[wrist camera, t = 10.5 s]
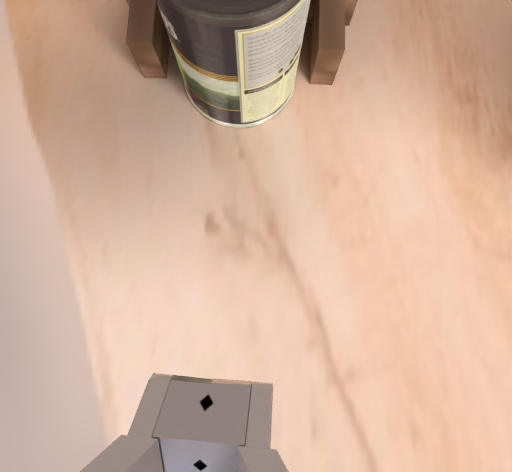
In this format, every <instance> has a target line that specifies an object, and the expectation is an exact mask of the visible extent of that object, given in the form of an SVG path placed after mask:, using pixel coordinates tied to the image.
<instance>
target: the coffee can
mask: <svg viewBox="0 0 512 472" xmlns="http://www.w3.org/2000/svg"><path fill="white" fill-rule="evenodd" d="M157 2H158V6H159V9H160V12H161V15H162V18H163V21H164V24H165V27H166V30H167V32H168V35H169V38H170V41H171V44H172V47H173V50H174V53H175V56H176V59H177V62H178V65H179V69H180V71H181V75H182V77H183V81H184V86H185V89H186V92H187V95H188V97H189V99H190V101H191V102H192V104H193V105H194V107H195V108H196V109H197V110H198V111H199V112H200V113H201V114H202V115H203V116H204V117H206V118H208V119H209V120H211V121H213V122H215V123H217V124H220V125H223V126H227V127H232V128H248V127H252V126H256V125H260V124H262V123H265V122H267V121H268V120H270V119H272V118H273V117H275V116H276V115H277V114H278V113H279V112H281V111H282V110H283V109H284V107H285V106H286V104H287V103H288V101H289V100H290V98H291V96H292V93H293V91H294V87H295V82H296V72H297V67H298V62H299V56H300V51H301V46H302V42H303V36H304V31H305V26H306V21H307V15H308V10H309V5H310V0H157Z"/></svg>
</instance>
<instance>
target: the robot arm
mask: <svg viewBox="0 0 512 472" xmlns="http://www.w3.org/2000/svg"><path fill="white" fill-rule="evenodd" d="M272 401H273V383H260V382H252V381H241V380H226V379H204V378H195V377H186V376H177V375H167V374H156V373H153V375H152V376H151V377H150V379H149V381H148V384H147V386H146V389H145V391H144V394H143V396H142V399H141V402H140V404H139V407H138V409H137V412H136V415H135V417H134V420H133V422H132V425H131V428H130V430H129V433H128V435H121V436H120V437H119V438H117V439H116V440H115V441H114V442H113V443H112V444H111V445H110V446H108V447H107V448H106V449H105V450H104V451H103V452H102V453H100V454H99V455H98V456H97V457H96V458H95V459H94V460H93V461H92V462H90V463H89V464H88V465H87V466H86V467H85V468H84V469H82V470H81V471H80V472H289V471H288V470H287V468H286V466H285V464H284V462H283V461H282V459H281V457H280V455H279V453H278V451H277V450H275V449H270V442H271V421H272Z"/></svg>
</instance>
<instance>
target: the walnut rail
mask: <svg viewBox="0 0 512 472" xmlns="http://www.w3.org/2000/svg"><path fill="white" fill-rule="evenodd" d="M127 3H128V5H129V7H130V9H129V19H128V29H127V39H126V42H127V44H128V46H129V48H130V50H131V52H132V54H133V56H134V58H135V60H136V62H137V64H138V66H139V68H140V70H141V72H142V74H143V76H144V77H147V78H167V65H168V53H169V41H170V38H169V35H168V32H167V30H166V27H165V24H164V21H163V18H162V15H161V12H160V9H159V6H158V2H157V0H127ZM356 3H357V0H310V5H309V10H308V15H307V21H306V24H311V57H310V84H329V85H332V83H333V81H334V78H335V75H336V72H337V70H338V67H339V64H340V61H341V59H342V56H343V53H344V50H345V25H349V24H350V21H351V18H352V15H353V12H354V9H355V6H356Z"/></svg>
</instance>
